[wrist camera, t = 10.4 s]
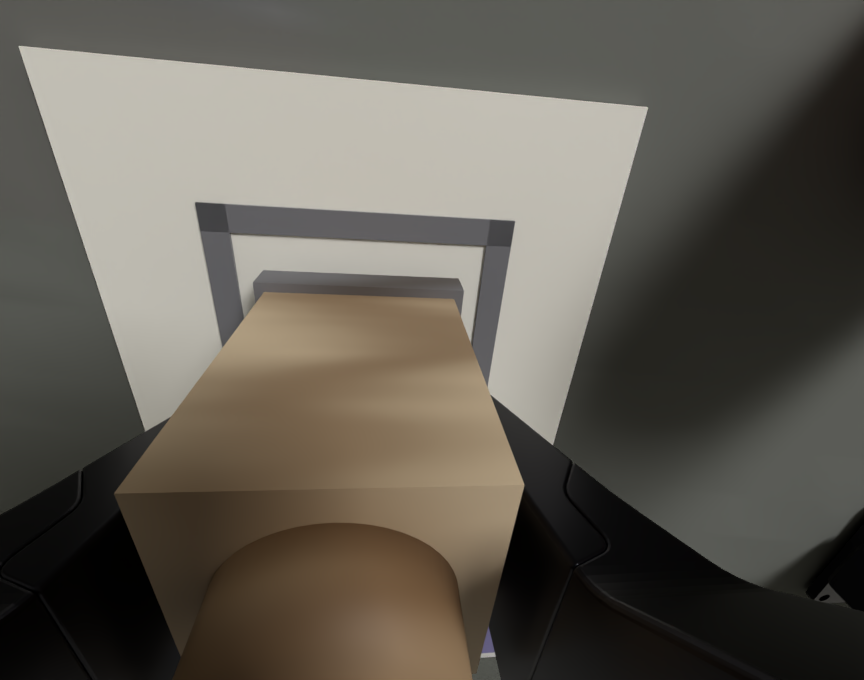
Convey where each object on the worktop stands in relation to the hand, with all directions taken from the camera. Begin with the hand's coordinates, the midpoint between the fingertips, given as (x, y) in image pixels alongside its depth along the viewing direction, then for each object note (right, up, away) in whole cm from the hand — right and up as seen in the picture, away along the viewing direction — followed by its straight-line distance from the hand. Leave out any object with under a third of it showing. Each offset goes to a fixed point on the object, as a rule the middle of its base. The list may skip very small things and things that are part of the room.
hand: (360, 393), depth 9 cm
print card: (0, +1, +2) cm, 2 cm away
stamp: (0, +1, +1) cm, 2 cm away
